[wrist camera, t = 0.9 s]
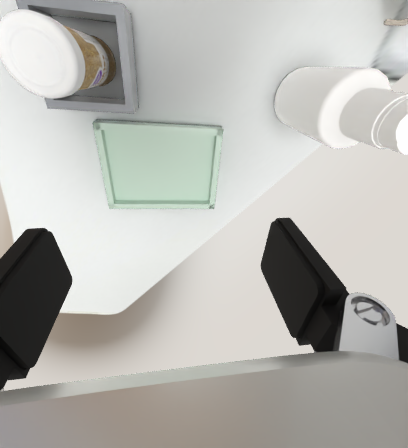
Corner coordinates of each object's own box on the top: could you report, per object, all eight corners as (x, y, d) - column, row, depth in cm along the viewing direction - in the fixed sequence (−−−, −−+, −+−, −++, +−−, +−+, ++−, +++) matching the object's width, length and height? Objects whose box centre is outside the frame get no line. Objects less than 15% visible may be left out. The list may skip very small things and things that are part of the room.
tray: (96, 119, 28) (92, 122, 26) (220, 126, 30) (223, 129, 29) (111, 202, 35) (109, 208, 33) (212, 203, 37) (214, 208, 36)
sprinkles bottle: (111, 93, 27) (70, 112, 16) (69, 72, 25) (-9, 77, 14) (121, 50, 24) (83, 37, 14) (76, 24, 23) (-9, -14, 12)
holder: (39, 2, 22) (12, -11, 18) (131, 13, 23) (123, 3, 19) (64, 102, 26) (47, 108, 23) (138, 107, 28) (134, 113, 24)
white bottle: (305, 131, 32) (418, 186, 18) (264, 117, 30) (351, 165, 16) (333, 77, 29) (503, 90, 14) (289, 58, 27) (431, 49, 12)
